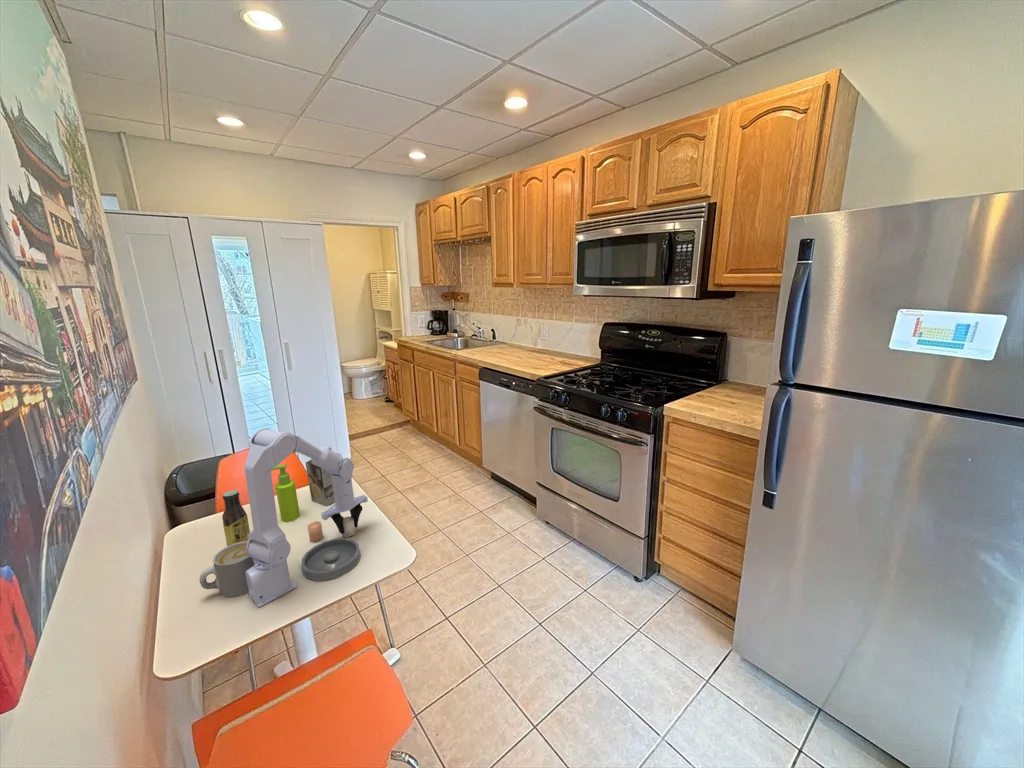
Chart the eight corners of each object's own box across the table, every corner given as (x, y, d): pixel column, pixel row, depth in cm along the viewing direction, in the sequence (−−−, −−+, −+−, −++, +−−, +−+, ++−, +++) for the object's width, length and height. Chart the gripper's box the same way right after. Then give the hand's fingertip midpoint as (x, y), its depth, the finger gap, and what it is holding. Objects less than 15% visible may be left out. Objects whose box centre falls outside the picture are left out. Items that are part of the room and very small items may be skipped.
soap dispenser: (278, 515, 144) (269, 464, 139) (300, 511, 147) (291, 460, 142) (277, 524, 139) (267, 471, 134) (299, 519, 142) (290, 467, 137)
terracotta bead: (313, 544, 128) (310, 530, 127) (307, 539, 130) (305, 525, 129) (325, 538, 131) (323, 524, 130) (320, 533, 133) (317, 520, 132)
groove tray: (316, 590, 109) (315, 582, 108) (292, 564, 119) (291, 556, 118) (370, 559, 120) (369, 552, 120) (344, 538, 130) (343, 531, 130)
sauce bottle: (241, 558, 122) (228, 500, 117) (223, 556, 123) (210, 498, 118) (258, 545, 128) (247, 489, 123) (241, 543, 129) (229, 487, 124)
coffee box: (340, 498, 155) (335, 460, 151) (326, 506, 149) (320, 467, 145) (324, 493, 159) (319, 455, 155) (310, 500, 154) (304, 462, 150)
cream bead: (346, 538, 130) (344, 524, 128) (340, 533, 132) (338, 520, 131) (357, 532, 133) (355, 519, 131) (351, 528, 135) (349, 515, 134)
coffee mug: (263, 566, 118) (258, 537, 115) (262, 588, 109) (255, 557, 107) (208, 583, 112) (200, 552, 109) (201, 607, 103) (193, 574, 101)
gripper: (358, 480, 137) (362, 515, 140) (315, 497, 126) (320, 534, 129) (369, 486, 132) (373, 522, 135) (325, 504, 122) (330, 543, 125)
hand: (348, 529), depth 132 cm, fingers closed on cream bead, 4 cm apart
